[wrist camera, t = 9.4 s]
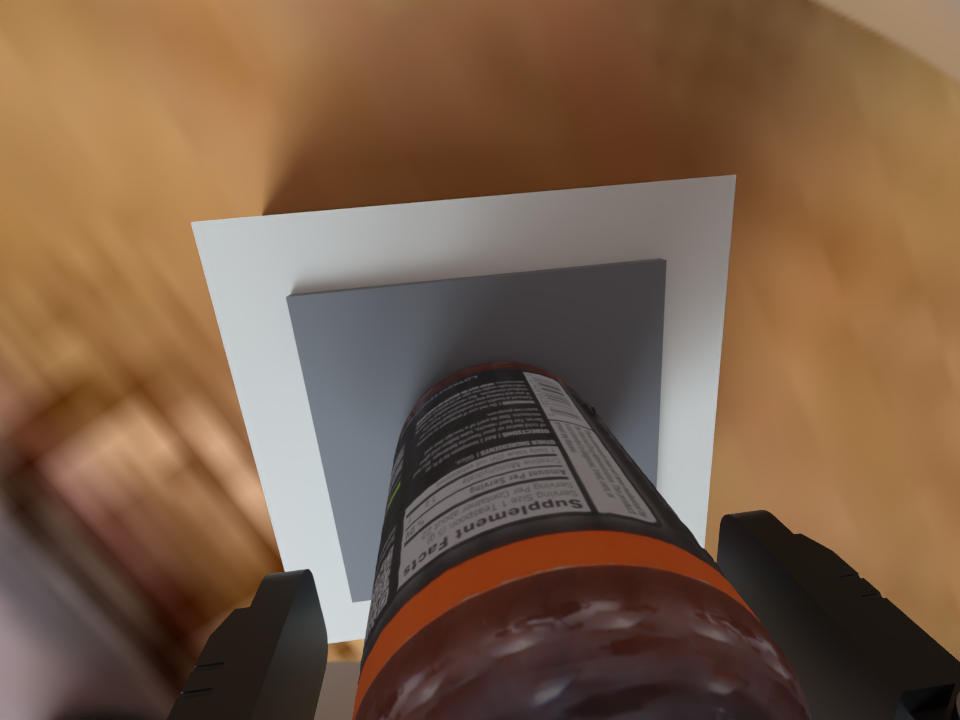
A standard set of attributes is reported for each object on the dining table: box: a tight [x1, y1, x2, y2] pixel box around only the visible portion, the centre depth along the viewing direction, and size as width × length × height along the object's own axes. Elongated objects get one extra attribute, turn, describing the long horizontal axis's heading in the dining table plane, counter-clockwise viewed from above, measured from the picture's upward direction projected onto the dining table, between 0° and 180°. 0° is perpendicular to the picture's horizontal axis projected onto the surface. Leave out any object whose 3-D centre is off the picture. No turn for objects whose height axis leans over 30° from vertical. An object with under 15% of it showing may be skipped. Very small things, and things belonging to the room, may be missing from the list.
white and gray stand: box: [191, 175, 736, 644], centre depth 16 cm, size 14×14×5 cm
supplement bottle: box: [352, 362, 811, 720], centre depth 9 cm, size 6×6×11 cm
